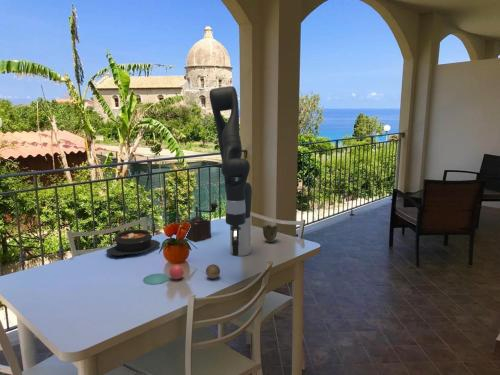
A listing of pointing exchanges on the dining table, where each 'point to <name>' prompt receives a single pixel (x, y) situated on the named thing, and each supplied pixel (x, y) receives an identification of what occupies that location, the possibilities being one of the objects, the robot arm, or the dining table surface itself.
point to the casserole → (132, 243)
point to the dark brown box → (200, 226)
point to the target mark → (156, 279)
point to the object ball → (176, 272)
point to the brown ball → (212, 271)
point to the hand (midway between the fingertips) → (235, 254)
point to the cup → (270, 233)
